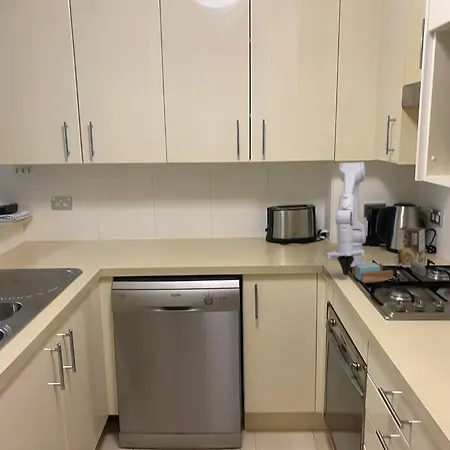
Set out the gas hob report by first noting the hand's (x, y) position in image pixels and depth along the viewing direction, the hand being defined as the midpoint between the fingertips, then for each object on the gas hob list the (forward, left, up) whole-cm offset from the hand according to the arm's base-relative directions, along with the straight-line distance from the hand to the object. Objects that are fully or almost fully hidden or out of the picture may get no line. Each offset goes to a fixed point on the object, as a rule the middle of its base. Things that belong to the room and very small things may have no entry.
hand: (345, 274), depth 184 cm
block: (0, +9, -2) cm, 9 cm away
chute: (0, +11, -2) cm, 11 cm away
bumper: (0, +30, -2) cm, 30 cm away
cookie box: (-9, +32, -2) cm, 33 cm away
